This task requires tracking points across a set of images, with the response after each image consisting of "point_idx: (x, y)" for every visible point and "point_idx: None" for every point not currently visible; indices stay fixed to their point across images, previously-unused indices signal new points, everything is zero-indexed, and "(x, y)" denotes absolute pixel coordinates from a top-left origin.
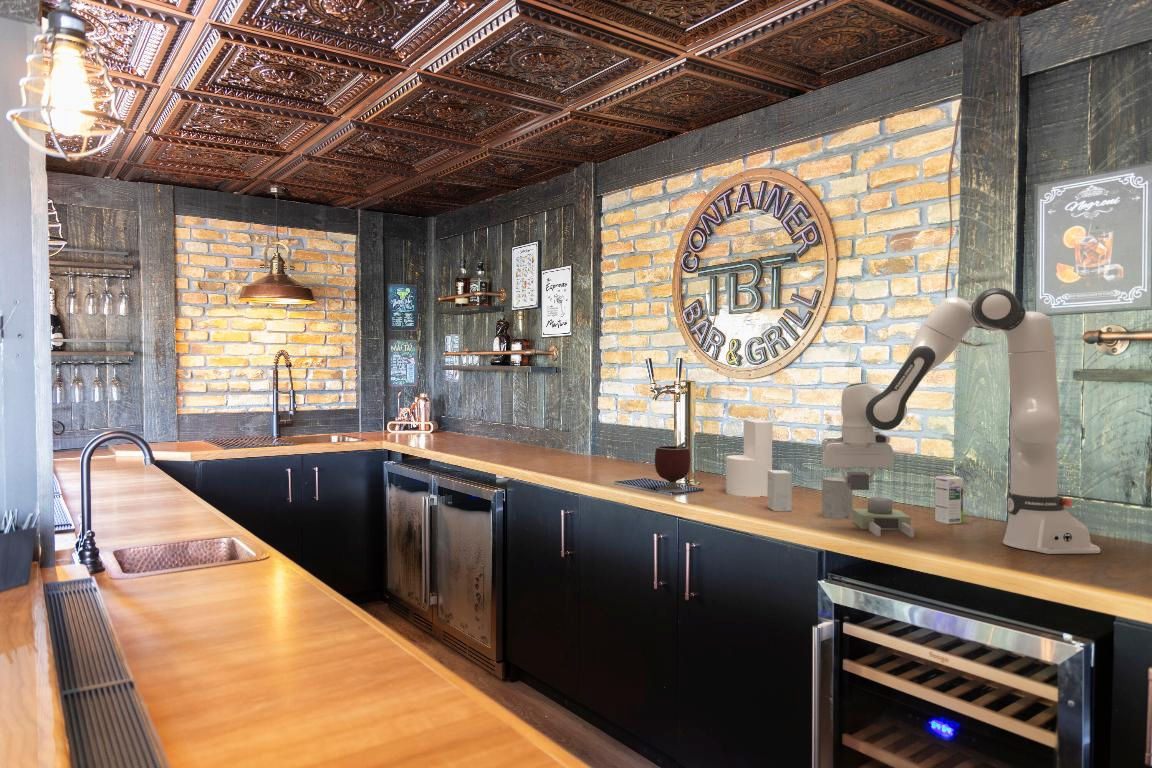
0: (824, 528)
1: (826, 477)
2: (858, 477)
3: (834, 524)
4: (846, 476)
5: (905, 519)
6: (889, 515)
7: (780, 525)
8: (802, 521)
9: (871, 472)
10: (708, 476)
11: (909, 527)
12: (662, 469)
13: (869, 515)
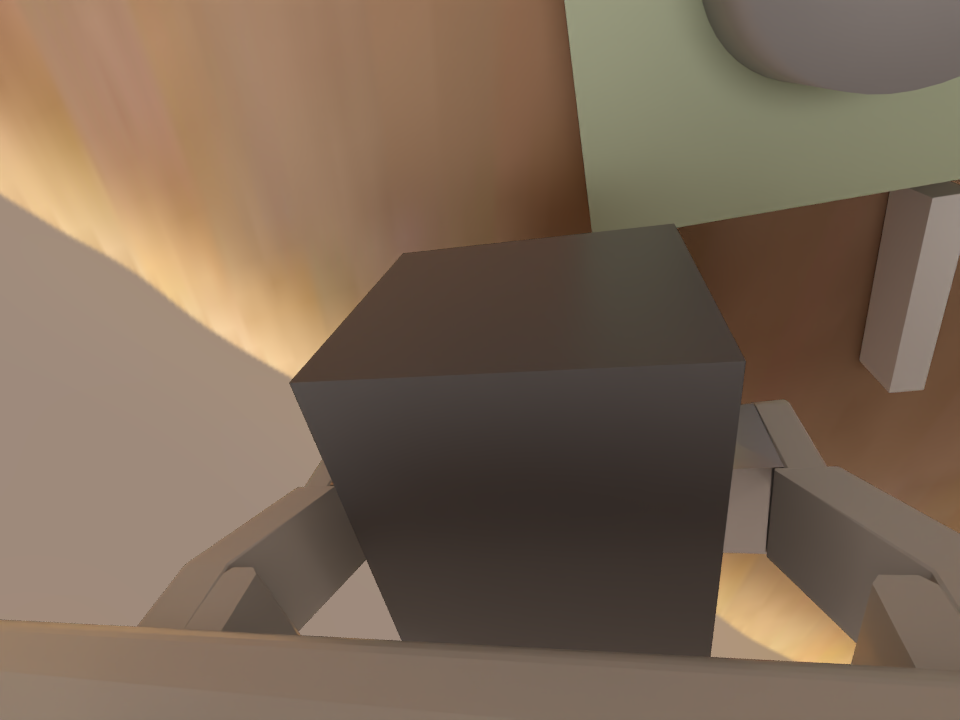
0: (356, 259)
1: None
2: None
3: (396, 83)
4: (358, 564)
5: None
6: (884, 122)
7: (118, 253)
8: (163, 48)
9: (874, 568)
10: None
11: (904, 367)
12: None
13: (665, 197)
